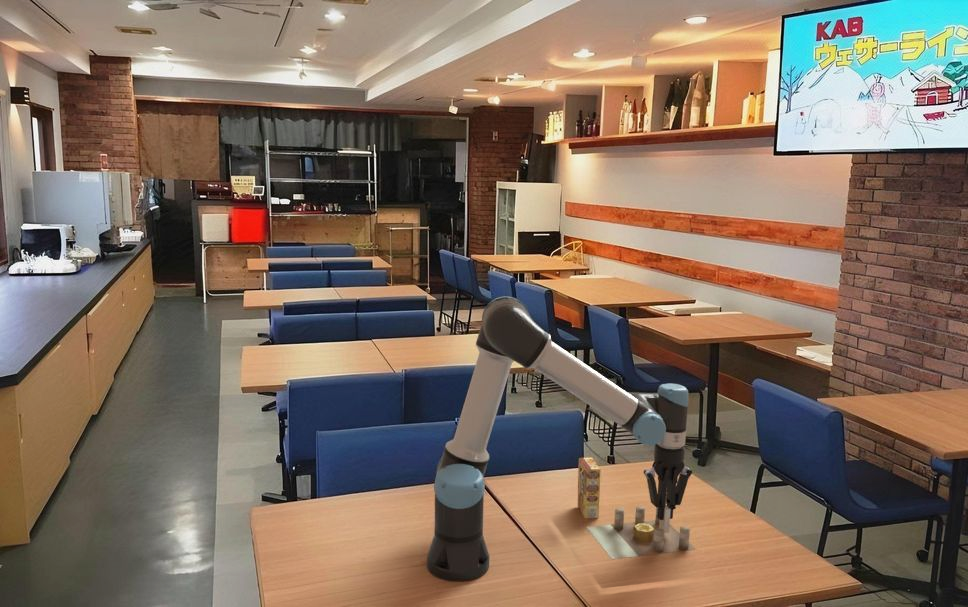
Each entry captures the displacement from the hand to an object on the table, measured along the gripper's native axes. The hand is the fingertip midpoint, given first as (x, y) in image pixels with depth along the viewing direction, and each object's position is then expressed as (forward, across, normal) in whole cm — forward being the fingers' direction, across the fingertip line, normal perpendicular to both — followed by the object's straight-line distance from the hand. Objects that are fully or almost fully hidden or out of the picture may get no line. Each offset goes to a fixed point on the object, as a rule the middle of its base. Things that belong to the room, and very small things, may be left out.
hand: (663, 530), depth 192 cm
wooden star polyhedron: (+1, -6, 0) cm, 6 cm away
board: (+3, -7, 0) cm, 7 cm away
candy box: (+3, -14, +18) cm, 23 cm away
